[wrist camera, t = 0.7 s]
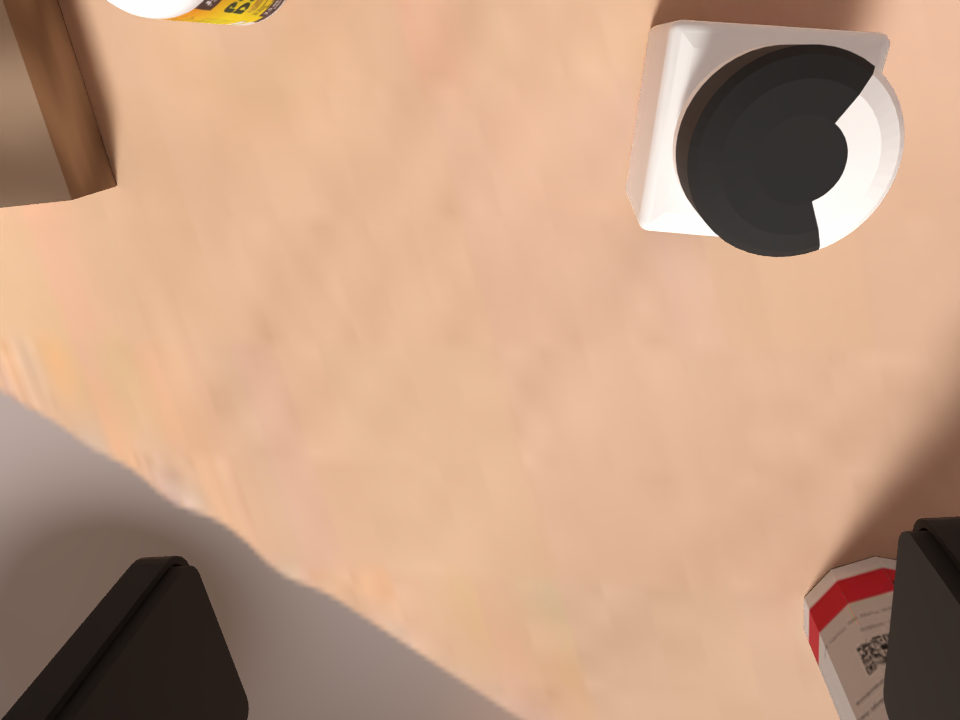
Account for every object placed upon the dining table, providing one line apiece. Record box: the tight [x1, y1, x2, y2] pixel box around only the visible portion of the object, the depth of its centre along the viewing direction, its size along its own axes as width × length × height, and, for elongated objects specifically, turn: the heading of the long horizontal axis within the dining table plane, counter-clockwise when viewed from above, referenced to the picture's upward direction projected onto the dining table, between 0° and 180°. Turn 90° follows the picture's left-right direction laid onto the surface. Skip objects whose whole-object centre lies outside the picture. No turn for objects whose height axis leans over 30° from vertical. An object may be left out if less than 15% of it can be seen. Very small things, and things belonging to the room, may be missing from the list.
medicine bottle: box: [626, 20, 905, 257], centre depth 25 cm, size 7×7×12 cm
